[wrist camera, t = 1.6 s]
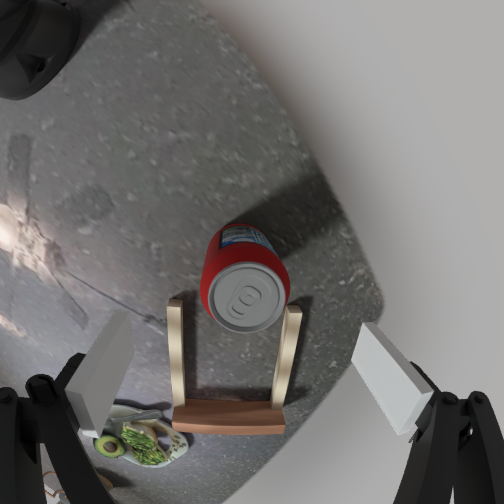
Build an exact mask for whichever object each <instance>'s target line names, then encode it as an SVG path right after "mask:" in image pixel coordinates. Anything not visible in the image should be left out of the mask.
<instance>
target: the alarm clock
mask: <svg viewBox="0 0 504 504" xmlns="http://www.w3.org/2000/svg"><path fill="white" fill-rule="evenodd" d="M61 490H63V489H61ZM63 491H64V490H63ZM65 495H66V494H65V493H64V492H61V491H60V494H59V498H60V501H59V502H58V503H57V504H70V502H69V500H67V499H66V498H65Z"/></svg>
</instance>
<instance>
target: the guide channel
mask: <svg viewBox="0 0 504 504" xmlns="http://www.w3.org/2000/svg"><path fill="white" fill-rule="evenodd" d="M301 318H302V311H301V310H300V308H299V306H298V305H286V309H285V315H284V322H283V328H282V334H281V340H280V346H279V352H278V357H277V363H276V369H275V374H274V380H273V385H272V390H271V395H270V401H220V400H202V399H188V398H186V388H185V369H184V343H183V300H179V299H170V300H169V303H168V305H167V321H168V340H169V356H170V369H171V380H172V391H173V400H174V411H173V418H172V427H173V431H180V432H191V433H205V434H229V435H257V434H282V433H283V432H284V429H285V421H284V417H283V413H282V407H283V403H284V399H285V395H286V390H287V386H288V381H289V377H290V373H291V368H292V363H293V359H294V354H295V349H296V344H297V339H298V334H299V329H300V324H301Z"/></svg>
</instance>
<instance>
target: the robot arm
mask: <svg viewBox="0 0 504 504" xmlns="http://www.w3.org/2000/svg"><path fill="white" fill-rule="evenodd" d="M79 30H80V17H79V14H78V12H77V10H76V9H75V8H74V7H73V6H72V5H71V4H70V3H68V2H67V1H65V0H0V97H1V98H5V99H9V100H21V99H25V98H27V97H29V96H31V95H33V94H34V93H36V92H37V91H39V90H40V89H41V88H42V87H44V86H45V85H46V84H47V83H48V82H49V81H50V80H51V79H52V78H53V77H54V76H55V75H56V73H57V72H58V71H59V70H60V68H61V67H62V66H63V64H64V63H65V61H66V60H67V58H68V57H69V55H70V53H71V51H72V49H73V47H74V45H75V43H76V40H77V37H78V34H79ZM133 355H134V347H133V339H132V330H131V320H130V312H129V311H121V310H116V312H115V313H114V315H113V316H112V318H111V319H110V320H109V322H108V323H107V325H106V326H105V328H104V329H103V330H102V332H101V333H100V335H99V336H98V338H97V339H96V341H95V342H94V344H93V345H92V347H91V348H90V350H89V351H88V353H87V354H82V353H77V354H75V355H74V356H72V357H71V358H70V359H69V360H68V362H67V363H66V366H64V368H63V369H62V371H61V372H60V373H59V375H58V376H57V378H56V379H55V381H54V380H53V378H52V377H50V376H49V375H45V374H37V375H34V376H32V377H31V378H29V379H28V380H27V382H26V386H25V388H26V391H27V393H28V395H29V397H30V398H24V397H18V395H17V393H16V391H15V390H14V389H12V388H10V387H2V388H0V504H47V501H46V495H45V489H44V482H43V475H42V466H41V454H40V443H44V444H45V447H46V449H47V452H48V455H49V458H50V460H51V463H52V465H53V468H54V470H55V472H56V475H57V477H58V479H59V482H60V484H61V486H62V488H63V490H64V492H65V494H66V496H67V498H68V500H69V502H70V504H117V503H116V502H115V500H114V499H113V497H112V496H111V494H110V493H109V491H108V489H107V488H106V486H105V485H104V483H103V481H102V480H101V478H100V476H99V475H98V473H97V471H96V469H95V468H94V466H93V464H92V462H91V460H90V458H89V456H88V455H87V453H86V451H85V449H84V447H83V445H82V443H81V441H80V438H79V436H78V434H77V432H78V430H79V428H81V430H82V432H83V434H84V435H87V436H90V437H94V438H98V439H100V436H101V434H102V431H103V428H104V426H105V423H106V420H107V418H108V415H109V413H110V410H111V407H112V405H113V402H114V400H115V397H116V395H117V392H118V390H119V388H120V385H121V383H122V380H123V378H124V376H125V373H126V371H127V368H128V366H129V364H130V361H131V359H132V357H133ZM351 361H352V362H353V364H354V366H355V367H356V369H357V370H358V372H359V374H360V375H361V377H362V378H363V380H364V382H365V383H366V385H367V386H368V388H369V390H370V391H371V393H372V394H373V396H374V398H375V399H376V401H377V402H378V404H379V406H380V407H381V409H382V410H383V412H384V414H385V415H386V417H387V419H388V420H389V422H390V423H391V425H392V427H393V429H394V430H395V432H396V434H397V435H400V434H404V433H407V432H410V430H411V429H412V427H413V426H414V424H416V425H417V427H418V429H417V430H416V432H415V433H414V435H413V436H412V438H411V439H410V441H409V443H411V441H412V440H413V443H412V447H411V451H410V454H409V458H408V461H407V465H406V468H405V471H404V475H403V477H402V480H401V483H400V486H399V489H398V492H397V495H396V497H395V500H394V503H393V504H449V503H450V498H451V494H452V488H454V489H453V490H454V504H504V439H503V436H502V433H501V430H500V427H499V425H498V422H497V419H496V416H495V414H494V411H493V408H492V406H491V403H490V401H489V399H488V397H487V396H486V395H485V394H484V393H482V392H479V391H473V392H471V394H470V395H469V397H468V399H458V398H457V396H456V395H454V394H452V393H450V392H441V391H440V390H439V389H438V387H437V386H436V385H435V384H434V383H433V382H432V381H431V379H430V378H428V376H427V375H426V374H425V373H424V372H423V371H422V369H421V368H420V367H419V366H418V365H416V364H414V363H413V362H409V361H408V360H407V359H406V358H405V357H404V356H403V354H402V353H401V352H400V351H399V350H398V349H397V348H396V347H395V345H394V344H393V343H392V342H391V341H390V340H389V339H388V338H387V337H386V335H385V334H384V333H383V332H382V331H381V330H380V329H379V328H378V327H377V326H376V324H375V323H374V322H368V323H363V324H362V327H361V330H360V334H359V337H358V340H357V344H356V347H355V350H354V353H353V356H352V359H351ZM471 429H472V430H473V432H472V434H470V430H471Z"/></svg>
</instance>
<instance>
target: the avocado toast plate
mask: <svg viewBox="0 0 504 504" xmlns="http://www.w3.org/2000/svg"><path fill="white" fill-rule="evenodd" d="M163 416H164V415H163V413H162V411H160V410H157V409H154V410H141V409H137V408H133V407H130V406H126V405H118V404H113V405H112V407H111V410H110V413H109V415H108V418H107V420H106V423H105V426H104V428H103V431H102V434H101V436H100V439H98V438H94V437H92V438H93V444H94V447H95V449H96V450H97V451H98V452H99V453H100V454H102V455H104V456H106V457H109V458H118V456H122V457H124V458H126V459H127V460H129V461H131V462H133V463H135V464H138V465H140V466H144V467H152V468H158V467H163V466H165V465H167V464H169V463H171V462H172V461H174V460H175V459H177V458H178V457H181V456H182V455H183V454H184V453H186V452H187V451H188V447H189V443H188V440H187V438H186V436H185V435H183V434H182V433H181V432H180V431H173V427H172V425H171V424H169V423H167V422H165V421H163V420H161V419H159V418H162V417H163ZM156 431H161V432H164V433H167V434H169V435H170V437H171V439H172V445H171V447H170V448H169V449H168V450H167V451H164V450H163V449H162V448H161V447H160V446H159V445H158V439H157V436H156Z"/></svg>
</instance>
